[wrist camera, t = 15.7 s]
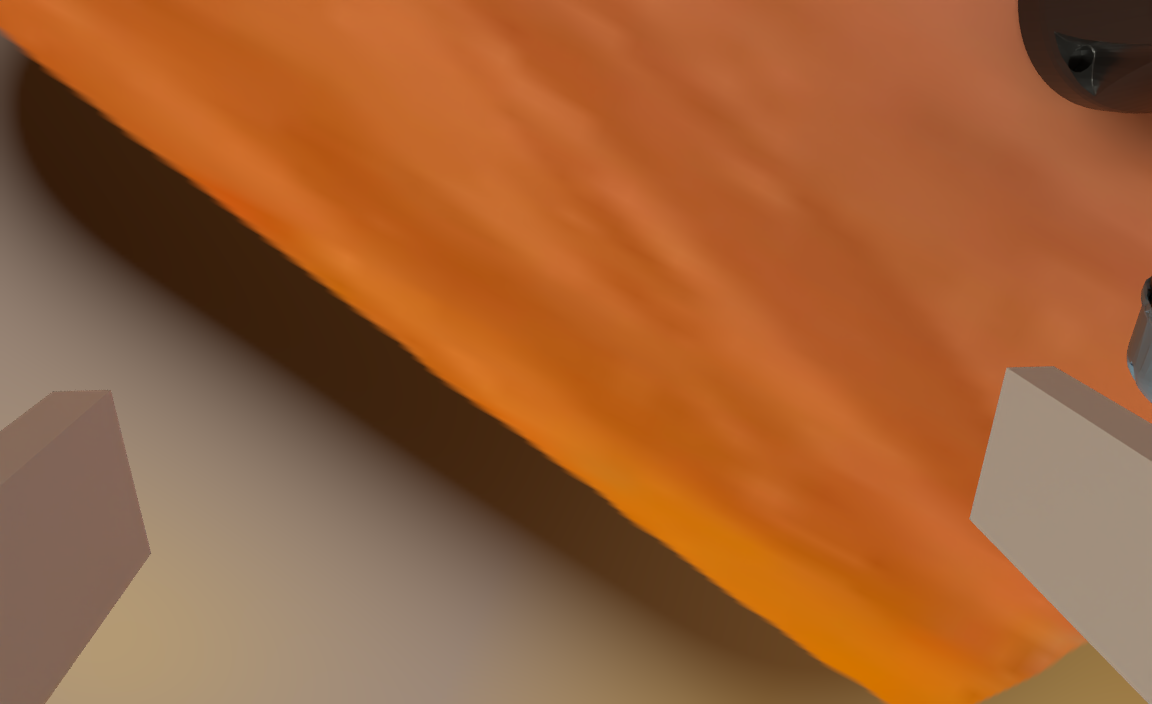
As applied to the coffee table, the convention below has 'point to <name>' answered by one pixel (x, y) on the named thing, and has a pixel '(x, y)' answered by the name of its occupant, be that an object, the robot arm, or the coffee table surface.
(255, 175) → the coffee table surface
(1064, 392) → the robot arm
